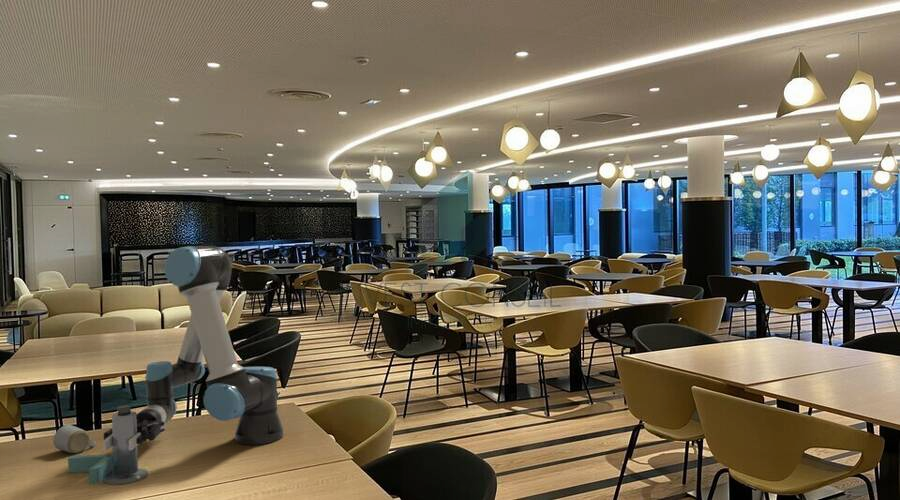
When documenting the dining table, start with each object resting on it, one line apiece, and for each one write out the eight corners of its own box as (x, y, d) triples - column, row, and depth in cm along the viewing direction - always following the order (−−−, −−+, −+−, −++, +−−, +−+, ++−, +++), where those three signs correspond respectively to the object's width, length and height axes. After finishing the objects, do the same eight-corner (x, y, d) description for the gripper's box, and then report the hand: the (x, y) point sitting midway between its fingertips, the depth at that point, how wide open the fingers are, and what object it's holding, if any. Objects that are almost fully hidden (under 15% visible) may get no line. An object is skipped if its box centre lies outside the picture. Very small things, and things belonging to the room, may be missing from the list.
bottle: (141, 467, 183) (139, 403, 183) (133, 475, 177) (131, 409, 177) (119, 468, 183) (117, 404, 182) (110, 476, 177) (108, 410, 176)
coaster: (154, 468, 186) (154, 467, 186) (139, 483, 175) (139, 482, 175) (114, 470, 185) (113, 469, 185) (96, 485, 174) (96, 484, 174)
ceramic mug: (68, 457, 197) (68, 431, 197) (53, 453, 201) (52, 428, 201) (102, 447, 207) (101, 423, 207) (86, 443, 211) (86, 419, 211)
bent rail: (117, 467, 188) (116, 453, 188) (98, 483, 175) (97, 468, 175) (72, 469, 187) (71, 455, 186) (50, 486, 174) (49, 471, 174)
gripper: (181, 431, 199) (154, 458, 175) (116, 434, 197) (80, 461, 174) (181, 407, 198) (153, 430, 175) (115, 409, 197) (79, 433, 174)
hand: (117, 445), depth 175 cm, fingers closed on bottle, 6 cm apart
